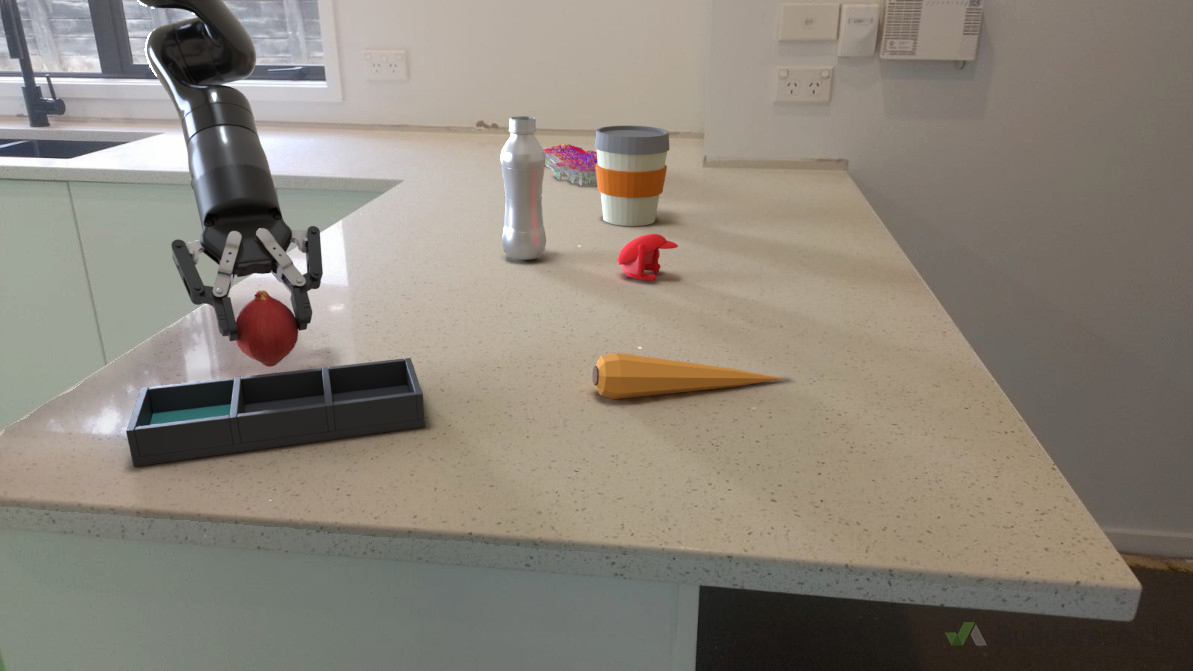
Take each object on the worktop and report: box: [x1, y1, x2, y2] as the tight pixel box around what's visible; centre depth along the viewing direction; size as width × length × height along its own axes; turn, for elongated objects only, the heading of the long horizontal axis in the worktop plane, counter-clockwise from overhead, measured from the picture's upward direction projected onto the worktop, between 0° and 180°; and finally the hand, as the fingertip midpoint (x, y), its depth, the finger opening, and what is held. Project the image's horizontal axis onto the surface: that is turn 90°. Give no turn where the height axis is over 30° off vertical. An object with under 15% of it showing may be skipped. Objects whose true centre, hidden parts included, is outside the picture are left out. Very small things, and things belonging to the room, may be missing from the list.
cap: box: [617, 233, 679, 282], centre depth 115 cm, size 8×6×6 cm
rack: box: [125, 357, 426, 467], centre depth 74 cm, size 23×8×3 cm, turn 109°
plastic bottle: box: [499, 115, 547, 261], centre depth 119 cm, size 6×7×20 cm
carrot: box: [591, 352, 784, 400], centre depth 83 cm, size 20×4×4 cm, turn 103°
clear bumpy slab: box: [542, 143, 598, 187], centre depth 180 cm, size 30×15×5 cm, turn 15°
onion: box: [235, 289, 299, 368], centre depth 81 cm, size 6×6×8 cm
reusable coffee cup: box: [594, 125, 670, 227], centre depth 142 cm, size 13×13×15 cm
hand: (269, 331), depth 80 cm, fingers closed on onion, 5 cm apart
